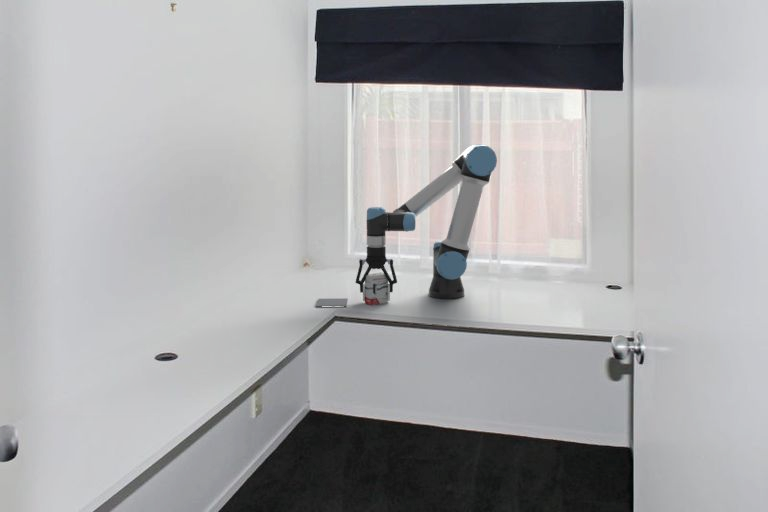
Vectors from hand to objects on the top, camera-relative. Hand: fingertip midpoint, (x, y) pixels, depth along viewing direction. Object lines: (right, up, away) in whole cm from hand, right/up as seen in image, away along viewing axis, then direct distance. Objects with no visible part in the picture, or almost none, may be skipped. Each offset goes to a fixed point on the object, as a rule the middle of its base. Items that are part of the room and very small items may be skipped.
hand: (376, 300), depth 250 cm
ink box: (0, -1, 0) cm, 1 cm away
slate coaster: (-18, -1, -1) cm, 18 cm away
